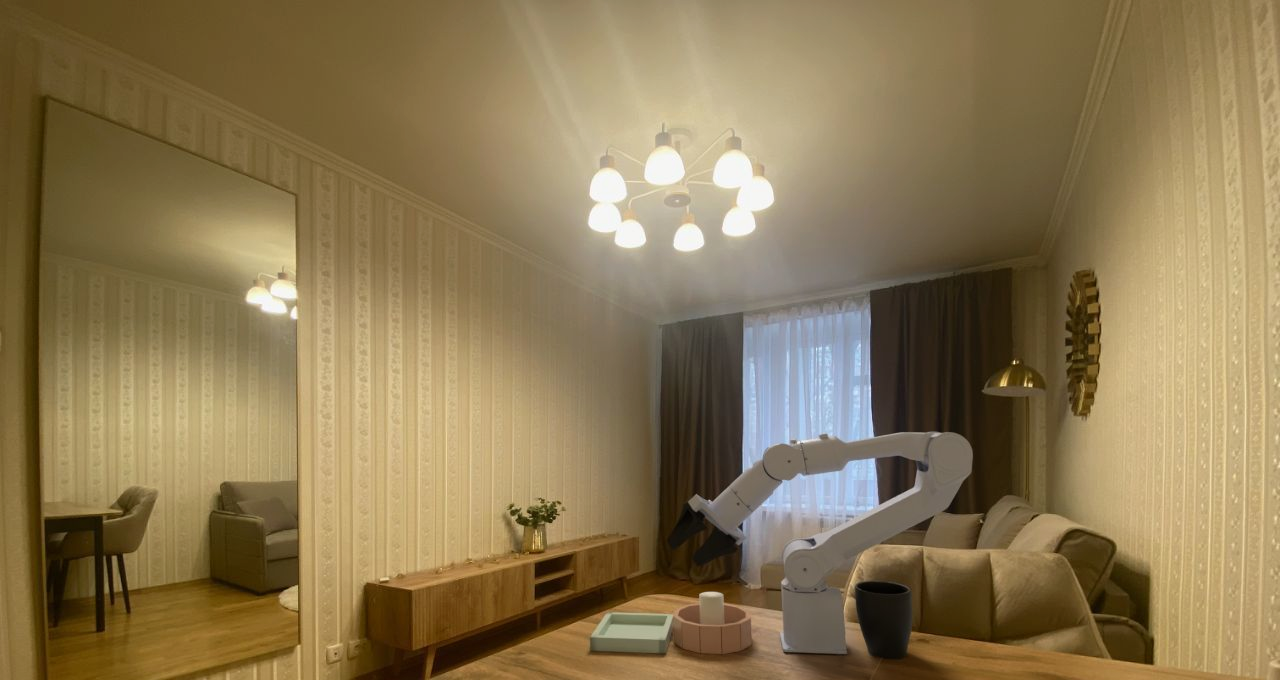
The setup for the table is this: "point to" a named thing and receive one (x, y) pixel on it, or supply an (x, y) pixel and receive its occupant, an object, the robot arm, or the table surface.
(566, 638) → the table surface
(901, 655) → the mug
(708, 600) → the peg
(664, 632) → the tray
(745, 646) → the segmented salmon ring
